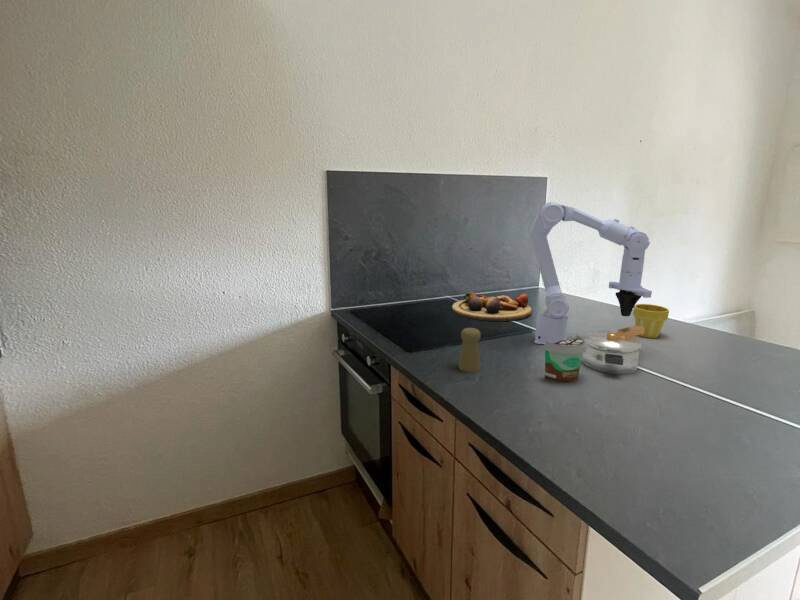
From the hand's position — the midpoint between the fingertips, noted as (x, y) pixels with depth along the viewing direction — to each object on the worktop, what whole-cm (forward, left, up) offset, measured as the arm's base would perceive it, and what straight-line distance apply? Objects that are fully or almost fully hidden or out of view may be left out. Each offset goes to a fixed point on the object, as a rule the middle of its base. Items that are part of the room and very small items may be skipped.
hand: (625, 315), depth 130 cm
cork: (-41, -33, -11) cm, 54 cm away
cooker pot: (-5, -16, -10) cm, 20 cm away
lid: (-3, -14, -4) cm, 15 cm away
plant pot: (+10, +18, -11) cm, 23 cm away
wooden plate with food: (-45, +30, -11) cm, 55 cm away
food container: (-16, -31, -11) cm, 36 cm away
